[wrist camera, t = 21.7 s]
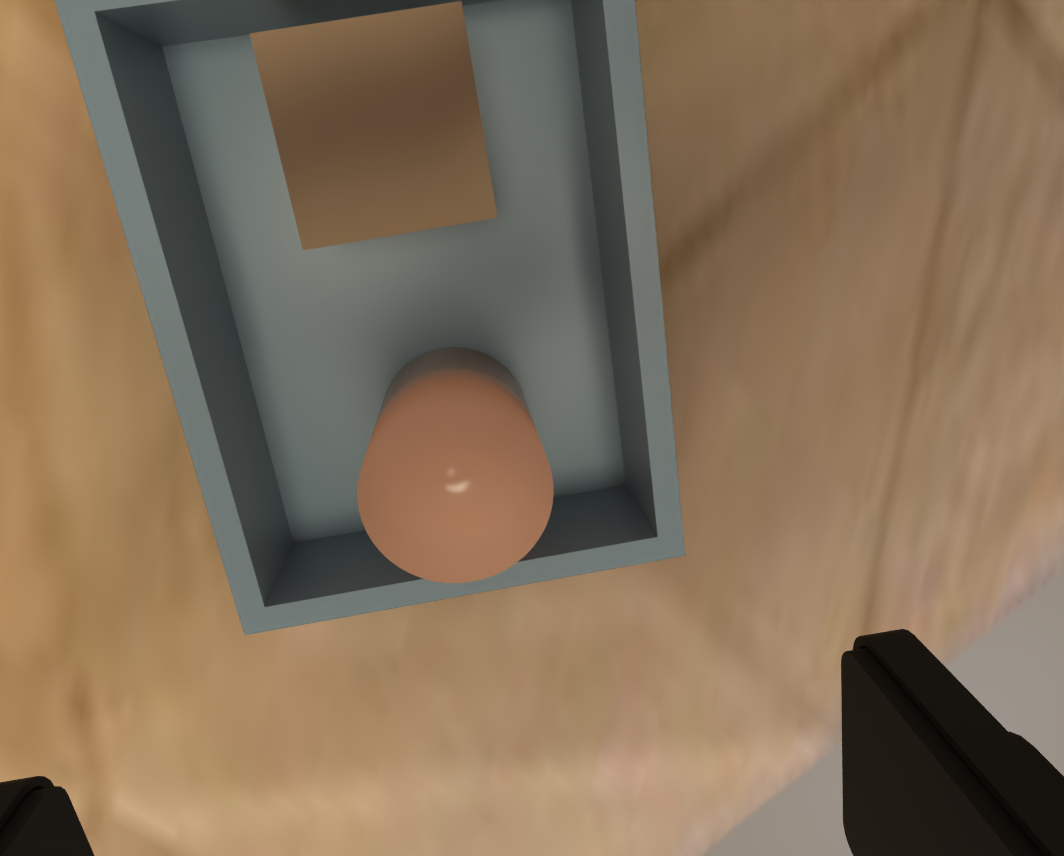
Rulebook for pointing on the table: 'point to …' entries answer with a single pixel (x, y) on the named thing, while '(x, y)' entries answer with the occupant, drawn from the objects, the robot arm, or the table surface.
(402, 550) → the salmon orange cylinder
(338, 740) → the table surface
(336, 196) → the walnut cube
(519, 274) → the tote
